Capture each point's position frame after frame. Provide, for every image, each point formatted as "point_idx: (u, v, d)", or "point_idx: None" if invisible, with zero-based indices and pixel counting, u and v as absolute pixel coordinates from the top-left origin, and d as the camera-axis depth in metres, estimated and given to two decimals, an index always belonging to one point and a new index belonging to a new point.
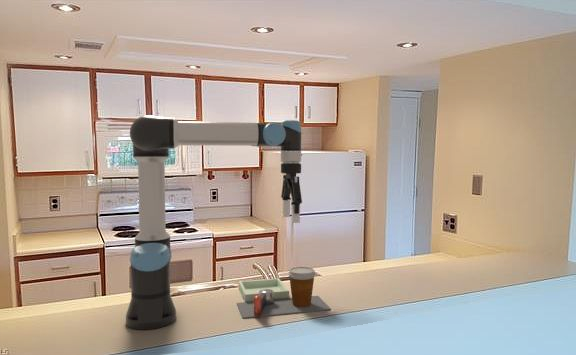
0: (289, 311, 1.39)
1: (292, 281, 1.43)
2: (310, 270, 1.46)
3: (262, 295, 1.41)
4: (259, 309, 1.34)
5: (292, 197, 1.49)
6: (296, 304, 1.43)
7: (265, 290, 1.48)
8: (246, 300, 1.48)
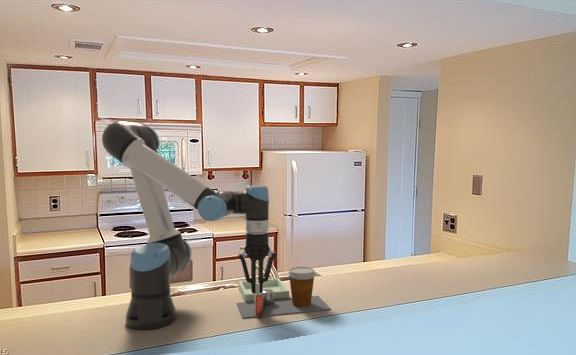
0: (289, 311, 1.39)
1: (292, 281, 1.43)
2: (310, 270, 1.46)
3: (263, 295, 1.41)
4: (261, 309, 1.34)
5: None
6: (296, 304, 1.43)
7: (265, 290, 1.48)
8: (246, 300, 1.48)
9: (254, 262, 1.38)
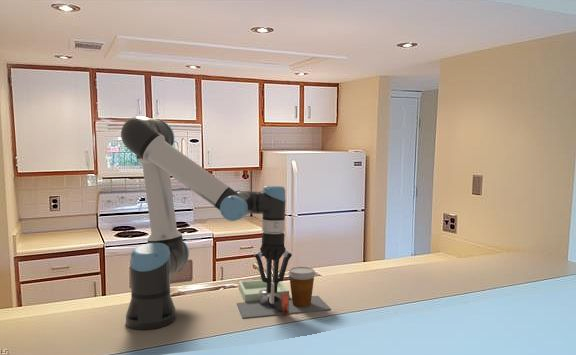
0: (289, 311, 1.39)
1: (292, 281, 1.43)
2: (310, 270, 1.46)
3: (275, 294, 1.42)
4: (288, 306, 1.37)
5: None
6: (296, 304, 1.43)
7: (265, 290, 1.48)
8: (246, 300, 1.48)
9: (270, 262, 1.39)
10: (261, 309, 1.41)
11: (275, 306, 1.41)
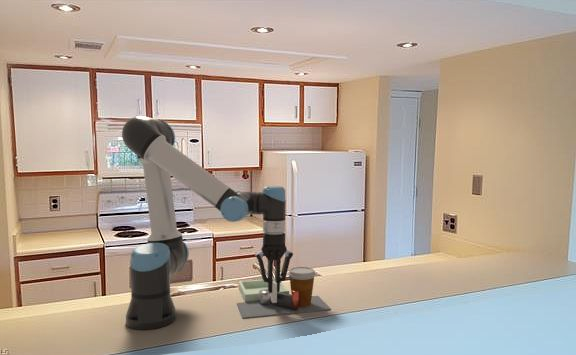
0: (289, 311, 1.39)
1: (292, 281, 1.43)
2: (310, 270, 1.46)
3: (280, 292, 1.44)
4: None
5: None
6: None
7: (265, 290, 1.48)
8: (246, 300, 1.48)
9: (271, 262, 1.39)
10: (261, 309, 1.41)
11: (282, 304, 1.42)
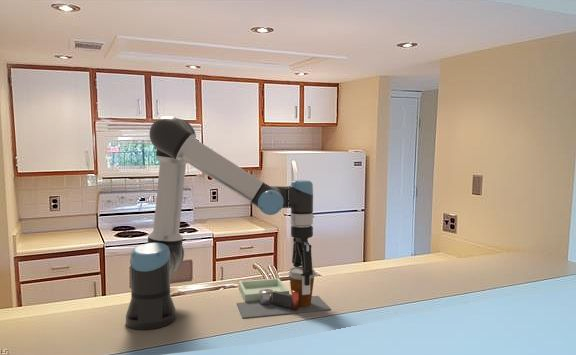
0: (289, 311, 1.39)
1: (292, 281, 1.43)
2: None
3: (280, 292, 1.44)
4: None
5: (302, 267, 1.40)
6: None
7: (265, 290, 1.48)
8: (246, 300, 1.48)
9: None
10: (261, 309, 1.41)
11: (282, 304, 1.42)
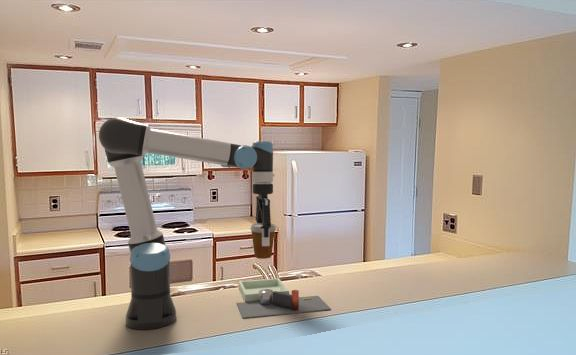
0: (289, 311, 1.39)
1: (253, 234, 1.54)
2: (271, 225, 1.57)
3: (280, 292, 1.44)
4: None
5: (262, 220, 1.51)
6: (257, 256, 1.54)
7: (265, 290, 1.48)
8: (246, 300, 1.48)
9: None
10: (261, 309, 1.41)
11: (282, 304, 1.42)
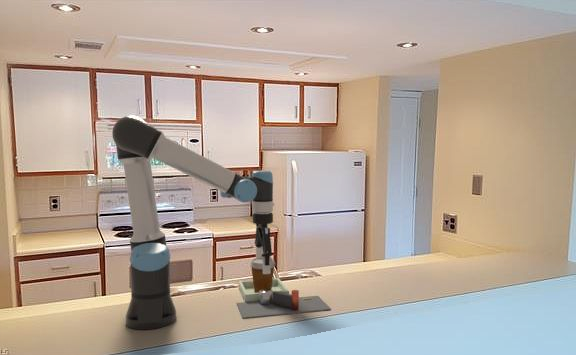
0: (289, 311, 1.39)
1: (253, 270, 1.55)
2: None
3: (280, 292, 1.44)
4: None
5: (263, 249, 1.50)
6: (257, 292, 1.56)
7: (265, 290, 1.48)
8: (246, 300, 1.48)
9: None
10: (261, 309, 1.41)
11: (282, 304, 1.42)
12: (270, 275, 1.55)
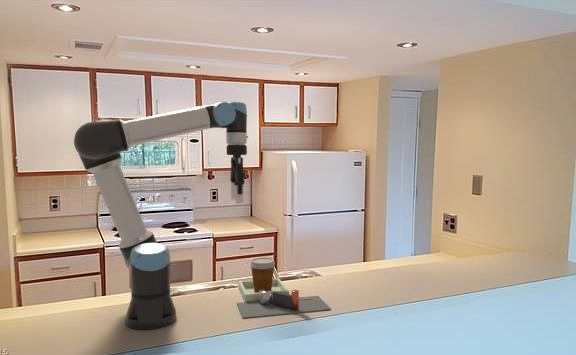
0: (289, 311, 1.39)
1: (253, 270, 1.55)
2: (270, 260, 1.58)
3: (280, 292, 1.44)
4: None
5: (236, 178, 1.51)
6: (257, 292, 1.56)
7: (265, 290, 1.48)
8: (246, 300, 1.48)
9: None
10: (261, 309, 1.41)
11: (282, 304, 1.42)
12: (270, 275, 1.55)
